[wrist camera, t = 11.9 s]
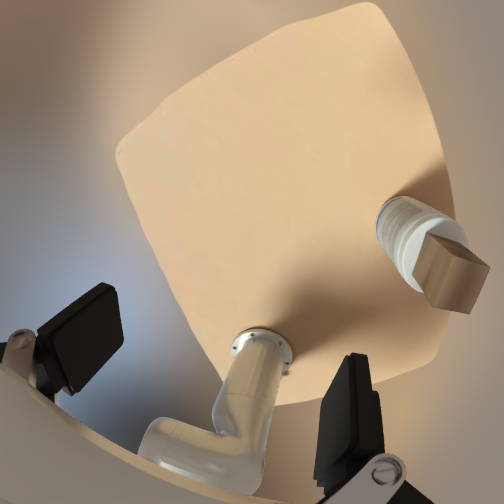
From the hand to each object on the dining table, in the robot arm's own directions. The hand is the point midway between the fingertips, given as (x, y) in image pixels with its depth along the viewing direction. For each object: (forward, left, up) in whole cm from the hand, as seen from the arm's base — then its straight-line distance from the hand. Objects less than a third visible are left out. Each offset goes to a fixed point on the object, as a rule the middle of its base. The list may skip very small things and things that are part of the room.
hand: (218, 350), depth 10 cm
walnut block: (-8, -16, -20) cm, 27 cm away
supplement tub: (-8, -16, -35) cm, 39 cm away
